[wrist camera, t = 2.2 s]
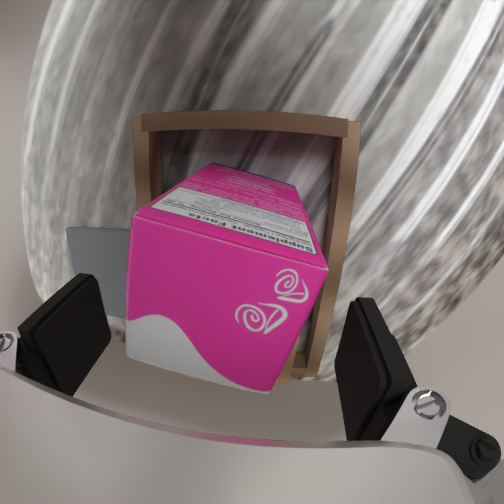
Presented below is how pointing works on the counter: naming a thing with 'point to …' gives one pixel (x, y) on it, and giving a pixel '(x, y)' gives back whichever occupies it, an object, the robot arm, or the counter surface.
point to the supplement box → (221, 278)
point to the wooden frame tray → (344, 130)
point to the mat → (102, 262)
